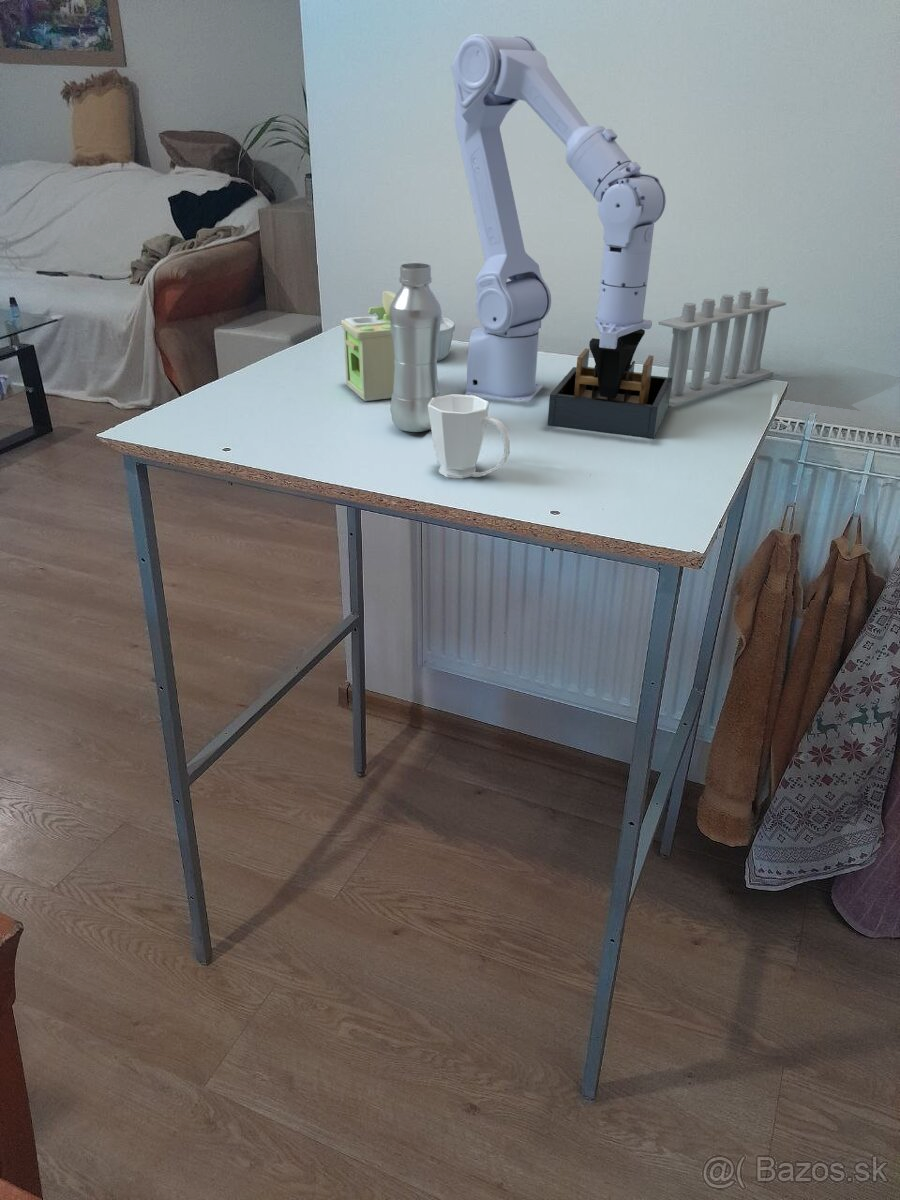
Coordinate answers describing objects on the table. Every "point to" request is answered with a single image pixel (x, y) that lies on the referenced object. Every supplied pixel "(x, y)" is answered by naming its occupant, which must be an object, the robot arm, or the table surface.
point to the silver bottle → (414, 348)
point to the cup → (461, 433)
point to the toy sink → (370, 352)
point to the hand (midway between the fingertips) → (611, 390)
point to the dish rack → (627, 382)
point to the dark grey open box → (609, 409)
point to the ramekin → (445, 337)
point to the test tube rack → (719, 344)
